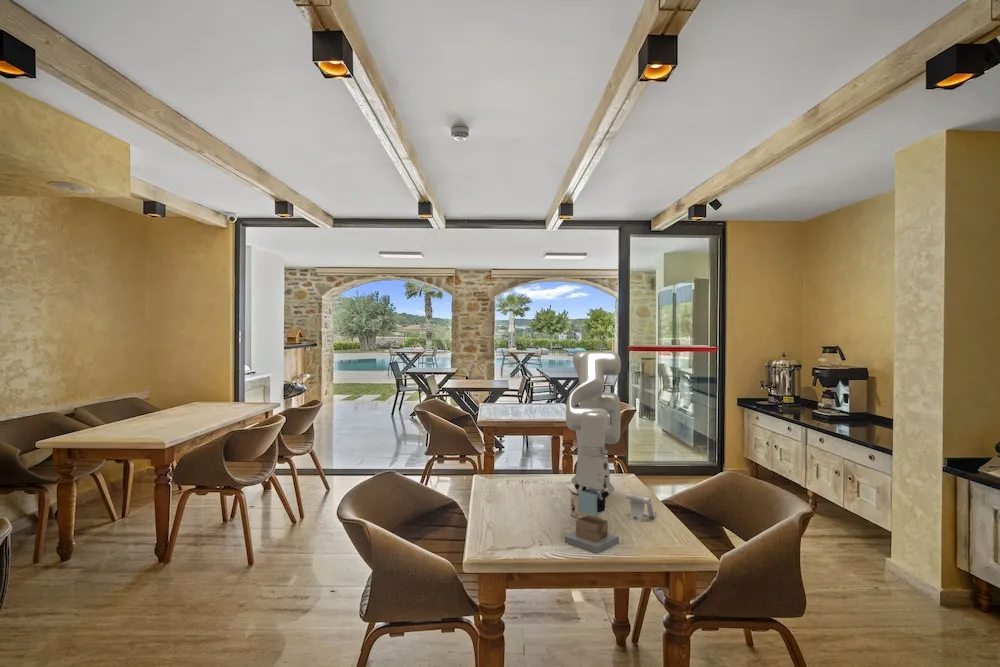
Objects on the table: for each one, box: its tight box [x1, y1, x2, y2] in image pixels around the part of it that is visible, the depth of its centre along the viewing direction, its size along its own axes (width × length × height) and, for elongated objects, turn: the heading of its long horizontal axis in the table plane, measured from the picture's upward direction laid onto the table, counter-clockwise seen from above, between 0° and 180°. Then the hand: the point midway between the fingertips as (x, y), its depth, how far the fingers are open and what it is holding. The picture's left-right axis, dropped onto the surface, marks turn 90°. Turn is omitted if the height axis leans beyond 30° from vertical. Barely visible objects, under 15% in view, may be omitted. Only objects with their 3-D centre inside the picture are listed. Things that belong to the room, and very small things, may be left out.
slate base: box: [564, 530, 620, 555], centre depth 164 cm, size 12×12×2 cm
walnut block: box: [575, 515, 608, 542], centre depth 164 cm, size 7×7×5 cm
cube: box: [578, 488, 606, 517], centre depth 164 cm, size 6×6×6 cm
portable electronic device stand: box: [625, 492, 658, 523], centre depth 188 cm, size 9×8×8 cm
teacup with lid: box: [570, 486, 595, 519], centre depth 188 cm, size 12×9×12 cm
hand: (591, 508), depth 164 cm, fingers closed on cube, 6 cm apart
